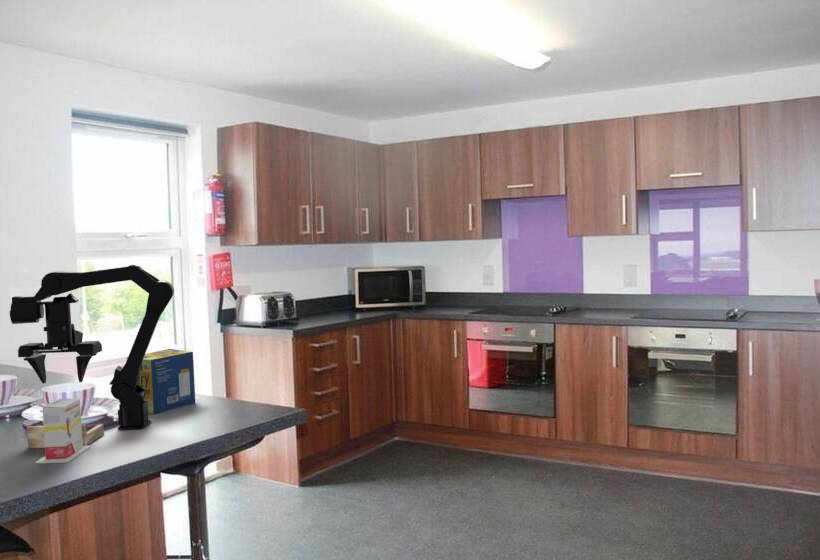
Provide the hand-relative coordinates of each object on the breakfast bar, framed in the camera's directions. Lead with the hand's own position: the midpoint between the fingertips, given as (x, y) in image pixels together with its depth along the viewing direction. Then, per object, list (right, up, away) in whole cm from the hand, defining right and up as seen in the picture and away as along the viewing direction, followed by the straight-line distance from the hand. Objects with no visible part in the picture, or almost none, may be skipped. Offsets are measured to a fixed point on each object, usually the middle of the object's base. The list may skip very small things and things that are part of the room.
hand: (62, 382), depth 178 cm
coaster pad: (+9, -14, -18) cm, 24 cm away
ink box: (+9, -14, -18) cm, 24 cm away
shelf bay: (+4, -13, -6) cm, 15 cm away
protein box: (+16, -11, +26) cm, 33 cm away
